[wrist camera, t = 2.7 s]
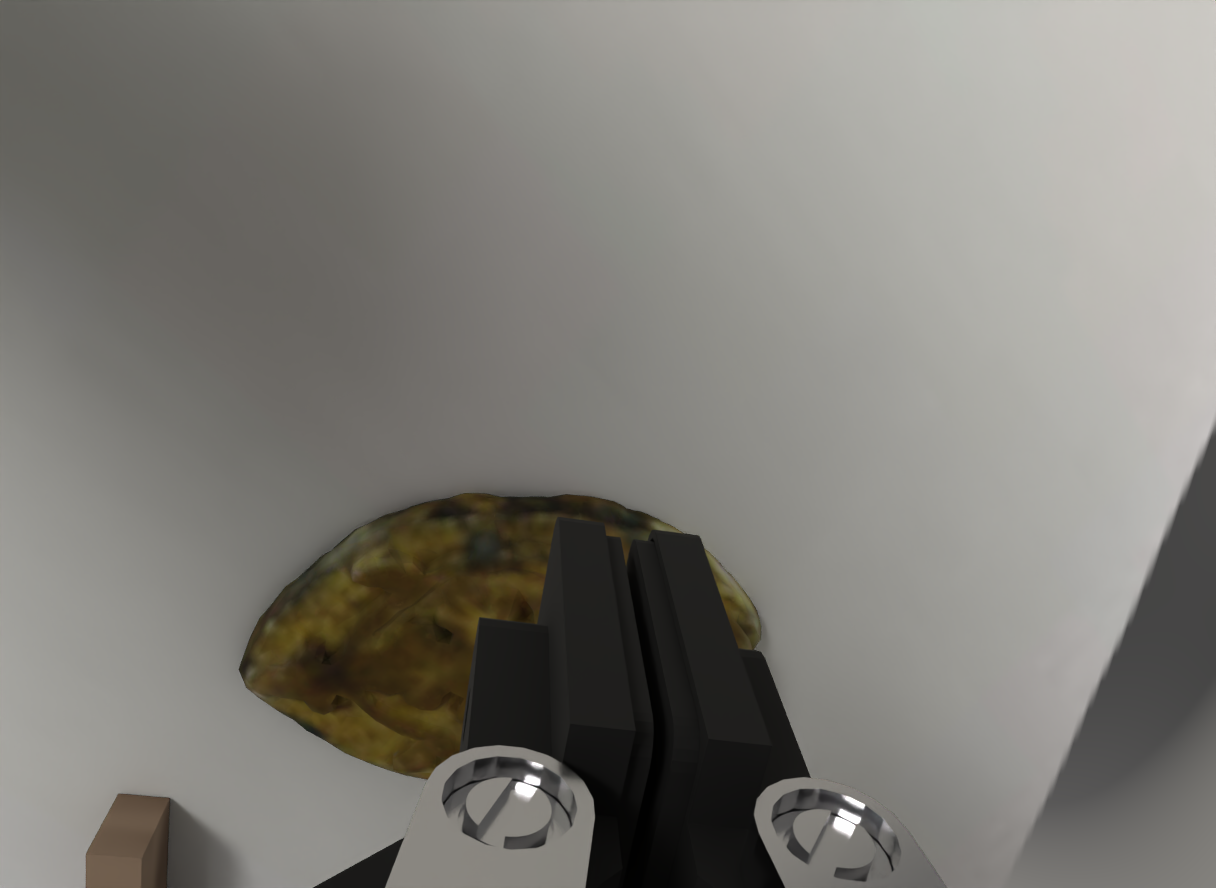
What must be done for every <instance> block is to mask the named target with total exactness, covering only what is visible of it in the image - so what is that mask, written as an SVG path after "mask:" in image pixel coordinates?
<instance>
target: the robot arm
mask: <svg viewBox="0 0 1216 888" xmlns="http://www.w3.org/2000/svg"><path fill="white" fill-rule="evenodd" d="M313 888H947V887H946V885H945V884H944V882H943V881H942V879H941V878H940V876H939V875H938V873H937V872H936V870H935V869H934V867H933V866H932V864H931V863H930V862H929V860H928V859H927V857H926V856H925V854H924V853H923V851H922V850H921V848H920V847H919V845H918V844H917V842H916V841H915V839H914V838H913V836H912V835H911V833H910V832H909V831H908V829H907V828H906V827H905V826H904V825H903V824H902V822H901V821H900V820H899V819H898V818H897V817H896V816H895V814H894V813H892V812H891V811H890V810H888V809H887V808H886V807H884V806H883V805H882V804H880V803H879V802H878V801H876V800H875V799H873V798H871V797H870V796H868V795H866V794H864V793H862V792H860V791H858V790H856V789H854V788H852V787H849V786H846V785H842V784H839V783H836V782H833V781H829V780H825V779H816V778H811V777H810V775H809V772H808V769H807V767H806V764H805V762H804V759H803V756H802V754H801V751H800V749H799V746H798V743H797V741H796V738H795V735H794V733H793V730H792V728H791V725H790V722H789V720H788V717H787V715H786V712H785V709H784V707H783V704H782V702H781V699H780V696H779V694H778V691H777V689H776V686H775V683H774V681H773V678H772V675H771V673H770V670H769V668H768V665H767V662H766V660H765V658H764V656H763V655H762V653H761V652H759V651H756V650H749V649H741V648H738V645H737V642H736V639H735V636H734V634H733V631H732V628H731V625H730V622H729V619H728V616H727V613H726V610H725V608H724V605H723V602H722V599H721V596H720V593H719V590H718V587H717V584H716V581H715V579H714V576H713V573H712V570H711V567H710V564H709V561H708V558H707V555H706V553H705V550H704V547H703V544H702V541H701V538H700V537H699V535H691V534H684V533H676V532H669V531H661V530H652V531H651V533H650V535H649V538H648V540H647V541H644V540H637V539H633V541H632V543H631V546H630V550H629V554H628V559H627V564H625V558H624V553H623V547H622V542H621V538H620V537H614V536H606V530H605V525H604V523H601V522H594V521H586V520H579V519H571V518H564V517H557V519H556V523H555V527H554V532H553V537H552V542H551V548H550V554H549V560H548V565H547V571H546V577H545V582H544V588H543V594H542V599H541V605H540V611H539V616H538V622H537V624H533V623H524V622H516V621H508V620H500V619H491V618H483V617H479V621H478V626H477V632H476V638H475V645H474V651H473V658H472V664H471V671H470V677H469V684H468V691H467V698H466V705H465V712H464V720H463V727H462V735H461V743H460V752H459V753H458V754H455V755H452V756H451V757H450V758H448V759H447V760H445V761H444V762H443V763H441V764H440V765H438V766H437V767H436V768H435V769H434V771H433V772H432V774H431V775H430V777H429V778H428V780H427V781H426V783H425V785H424V788H423V791H422V793H421V796H420V798H419V801H418V804H417V806H416V809H415V811H414V814H413V817H412V819H411V822H410V824H409V827H408V829H407V832H406V835H405V837H404V838H403V839H401V840H399V841H397V842H395V843H394V844H392V845H390V846H388V847H386V848H384V849H383V850H381V851H379V852H377V853H375V854H373V855H372V856H370V857H368V858H366V859H364V860H363V861H361V862H359V863H357V864H355V865H353V866H352V867H350V868H348V869H346V870H344V871H342V872H341V873H339V874H337V875H335V876H333V877H332V878H330V879H328V880H326V881H324V882H322V883H321V884H319V885H317V886H315V887H313Z"/></svg>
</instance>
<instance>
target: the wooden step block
mask: <svg viewBox="0 0 1216 888" xmlns="http://www.w3.org/2000/svg"><path fill="white" fill-rule="evenodd" d="M169 807H170V798H161V797H150V796H139V795H127V794H118V795H117V797H116V799H115V801H114V803H113V805H112V807H111V808H110V810H109V812H108V814H107V816H106V818H105V820H104V821H103V823H102V825H101V827H100V829H99V831H98V832H97V834H96V836H95V838H94V840H93V842H92V844H91V845H90V847H89V849H88V851H87V853H86V888H167V861H168V834H169Z"/></svg>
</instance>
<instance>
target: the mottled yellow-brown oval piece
mask: <svg viewBox="0 0 1216 888" xmlns="http://www.w3.org/2000/svg"><path fill="white" fill-rule="evenodd" d="M557 517H564V518H571V519H579V520H586V521H594V522H601V523H604V525H605V530H606V536H614V537H620V538H621V542H622V547H623V553H624V558H625V564H627V559H628V554H629V550H630V546H631V543H632V541H633V539H637V540H644V541H647V540H648V538H649V535H650V533H651V531H652V530H661V531H669V532H676V533H682V532H681V531H679V530H678V529H676V528H675V527H673V526H670V525H668V524H666V523H664V522H661V521H660V520H659V519H657V518H654V517H652V516H650V515H648V514H645V513H643V512H639V511H633V510H629V509H626V508H625V507H624V506H622V505H620V504H618V503H616V502H614V501H609V500H605V499H600V498H595V497H589V496H578V495H568V494H565V495H559V496H554V497H498V496H494V495H490V494H481V493H465V494H460V495H457V496H454V497H451V498H448V499H442V500H436V501H431V502H425V503H422V504H419V505H415V506H412V507H410V508H407V509H405V510H402V511H398V512H395V513H391V514H387V515H384V516H383V517H381V518H379V519H377V520H375V521H373V522H371V523H369V524H367V525H365V526H362V527H360V528H358V529H355V530H354V531H353V532H352V533H351V534H349V535H348V536H347V537H346V538H345V539H343V540H342V541H341V542H340V543H339V544H338V545H337V546H336V547H335V548H334V549H333V550H332V551H330V552H328V553H326V554H324V555H322V556H321V557H320V558H319V559H318V560H317V561H316V562H315V563H314V564H313V565H312V566H311V567H310V568H309V569H307V570H306V571H305V572H304V573H303V574H302V575H301V576H300V577H299V578H297V579H296V580H295V581H293V582H292V583H290V584H289V585H287V586H286V587H285V588H284V589H283V591H282V592H281V593H280V594H279V596H278V597H277V598H276V600H275V601H274V602H273V604H272V605H271V606H270V607H269V608H268V610H267V611H266V612H265V613H264V614H263V615H262V616H261V617H260V619H259V621H258V623H257V625H256V627H255V629H254V631H253V633H252V635H251V637H250V639H249V642H248V645H247V648H246V650H245V653H244V656H243V659H242V661H241V664H240V667H239V671H240V674H241V676H242V678H243V681H244V683H245V685H246V688H248V689H249V690H250V691H251V692H252V693H254V694H255V695H256V696H257V697H259V698H260V699H262V700H263V701H264V702H266V703H267V704H269V705H270V706H272V707H273V708H275V709H276V710H278V711H279V712H281V713H282V714H284V715H286V716H288V717H290V718H291V719H293V720H295V721H296V722H297V723H298V724H299V725H301V726H302V727H303V728H304V729H306V730H307V731H309V732H311V733H313V734H314V735H316V736H318V737H320V738H322V739H323V740H325V741H327V742H329V743H330V744H332V745H333V746H334V747H336V748H338V749H339V750H341V751H343V752H344V753H346V754H349V755H351V756H354V757H356V758H358V759H361V760H363V761H366V762H368V763H370V764H373V765H376V766H378V767H381V768H384V769H387V770H390V771H393V772H396V773H400V774H403V775H407V776H412V777H417V778H422V779H428V778H429V777H430V775H431V774H432V772H433V771H434V769H435V768H436V767H437V766H438V765H440V764H441V763H443V762H444V761H445V760H447V759H448V758H450V757H451V756H452V755H455V754H458V753H459V752H460V743H461V735H462V727H463V720H464V712H465V705H466V698H467V691H468V684H469V677H470V671H471V664H472V658H473V651H474V645H475V638H476V632H477V626H478V621H479V617H483V618H491V619H500V620H508V621H516V622H524V623H533V624H537V622H538V616H539V611H540V605H541V599H542V594H543V588H544V582H545V577H546V571H547V565H548V560H549V554H550V548H551V542H552V537H553V532H554V527H555V523H556V519H557ZM704 550H705V553H706V555H707V558H708V561H709V564H710V567H711V570H712V573H713V576H714V579H715V581H716V584H717V587H718V590H719V593H720V596H721V599H722V602H723V605H724V608H725V610H726V613H727V616H728V619H729V622H730V625H731V628H732V631H733V634H734V636H735V639H736V642H737V645H738V648H741V649H749V650H753V649H754V648H755V647H756V645H757V644H758V642H759V641H760V640H761V624H760V619H759V617H758V613H757V610H756V608H755V607H754V605H753V603H752V602H751V600H750V599H749V597H748V596H747V594H746V593H745V592H744V590H743V589H742V588H741V586H740V585H739V584H738V583H737V581H736V580H735V579H734V578H733V577H732V575H731V574H729V573H728V572H727V571H726V570H725V569H724V568H723V566H722V565H721V564H720V563H719V562H718V561H717V560H716V559H715V558H714V557H713V556H712V555H711V554H710V553H709V552H708V551H707V550H706V549H704Z"/></svg>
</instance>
